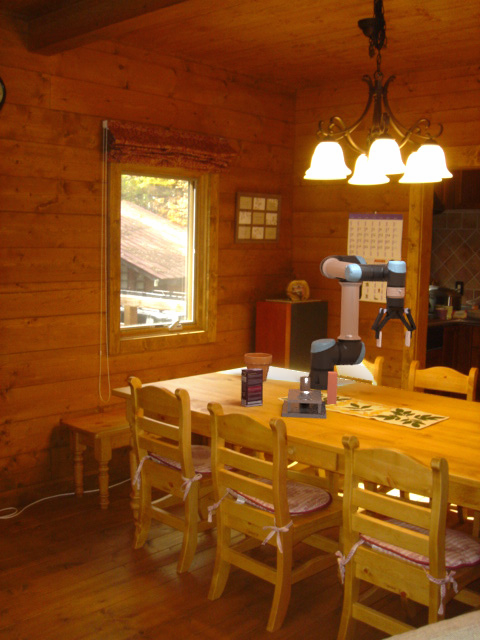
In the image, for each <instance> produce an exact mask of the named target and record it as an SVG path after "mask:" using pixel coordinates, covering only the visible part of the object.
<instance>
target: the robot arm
mask: <svg viewBox="0 0 480 640" xmlns="http://www.w3.org/2000/svg"><path fill="white" fill-rule="evenodd" d="M319 271H320V273H321V275H322V276H323V277H325V278H327V279H333V280H338V284H339V285H340V286H341V298H340V299H341V305H340V309H341V310H340V335H339V336H337V339H336V340H335V338H320V339H316V340H313V341H312V342H311V347H310V368H309V373H308V376H307V377H310V389H311V390H321V391H323V390H325V391H327V389H328V372H335V366H356V365H357V366H358V365H360V364H361V363H362V362H363V361H364V359H365V357H366V356H365V355H366V347H365V346H366V345H365V343H364V342H363V341H362V338H361V336H359V313H360V311H359V310H360V287H361V286H362V285H363V282H372V283H373V282H376V283H377V282H378V283H381V282H383V283H384V282H385V283H386V284H387V285H386V299H385V300H386V302H385V303H386V304H385V305H386V307H385V308H382V307H380V308H379V309H378V314H377V316H376V318H375V319H374V321H373V323H372V325H371V328H370V329H371V330H373V331H375V334H374V335H375V336H374V338H375V340H376V347H378V348H381V347H382V336H383V335H382V332H383V331H381V330H383V328H384V327H385V326H386V325H387V323H388V322H389V321H390V320H391V319H392V320H395V319H396V320H400V321H401V323H402V324H403V326H404V327H405V328H406V331H405V338H404V340H405V341H404V342H405V343H404V346H405V347H411V346H410V344H411V339H412V338H413V332H415V330H417V329H418V328H417V326H416V323H415V321H414V318H413V316H412V310H411V308H409V307H405V298H404V297H405V295H406V294H405V293H406V277H407V263H406V262H405V261H403V260H389V261H388V263H379V264H371V263H369V264H368V263H367V261H366V259H365V258H364V256H361V255H355V254H351V255H350V254H349V255H348V254H347V255H345V254H344V255H343V254H340V255H338V254H334V255H333V254H332V255H328V256H326V257H325V258H323V259H322V260H321V261H320V263H319ZM404 307H405V308H404ZM385 313H386V314H385ZM384 314H385V315H384ZM404 314H405V315H406V317H407V318H406V317H405V316H404ZM383 316H384V317H383Z"/></svg>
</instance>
